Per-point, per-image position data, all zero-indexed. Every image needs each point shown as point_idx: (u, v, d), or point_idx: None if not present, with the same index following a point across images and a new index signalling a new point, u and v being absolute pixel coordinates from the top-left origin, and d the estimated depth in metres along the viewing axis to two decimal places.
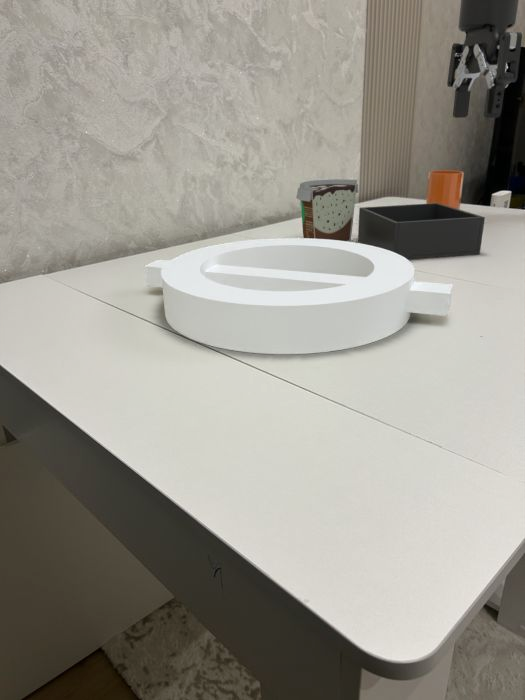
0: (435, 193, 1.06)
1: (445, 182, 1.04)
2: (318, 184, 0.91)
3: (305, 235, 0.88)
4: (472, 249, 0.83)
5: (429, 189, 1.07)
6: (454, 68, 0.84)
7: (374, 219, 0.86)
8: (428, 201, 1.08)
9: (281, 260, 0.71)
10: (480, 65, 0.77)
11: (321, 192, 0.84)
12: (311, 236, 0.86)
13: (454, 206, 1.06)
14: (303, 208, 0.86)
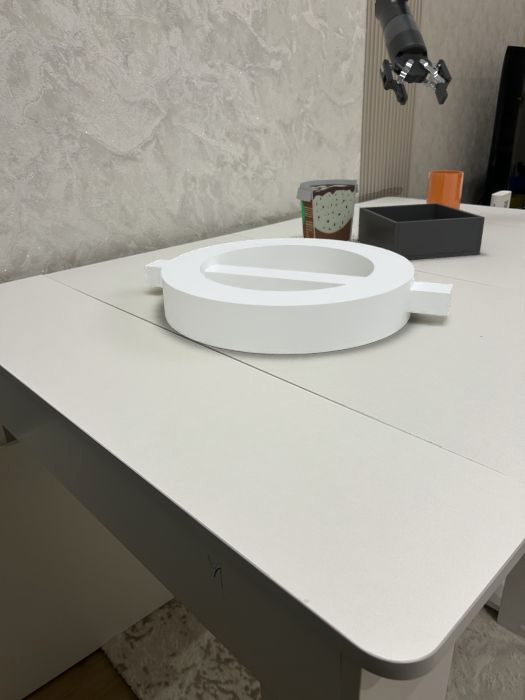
0: (435, 193, 1.06)
1: (445, 182, 1.04)
2: (318, 184, 0.91)
3: (305, 235, 0.88)
4: (472, 249, 0.83)
5: (429, 189, 1.07)
6: None
7: (374, 219, 0.86)
8: (428, 201, 1.08)
9: (281, 260, 0.71)
10: None
11: (321, 192, 0.84)
12: (311, 236, 0.86)
13: (454, 206, 1.06)
14: (303, 208, 0.86)
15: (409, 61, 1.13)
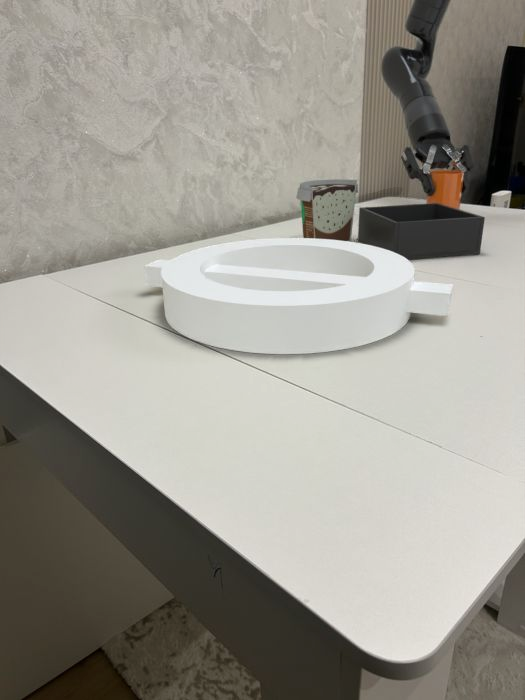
0: (435, 193, 1.06)
1: (445, 182, 1.04)
2: (318, 184, 0.91)
3: (305, 235, 0.88)
4: (472, 249, 0.83)
5: None
6: None
7: (374, 219, 0.86)
8: (428, 201, 1.08)
9: (281, 260, 0.71)
10: None
11: (321, 192, 0.84)
12: (311, 236, 0.86)
13: (454, 206, 1.06)
14: (303, 208, 0.86)
15: (432, 147, 1.08)
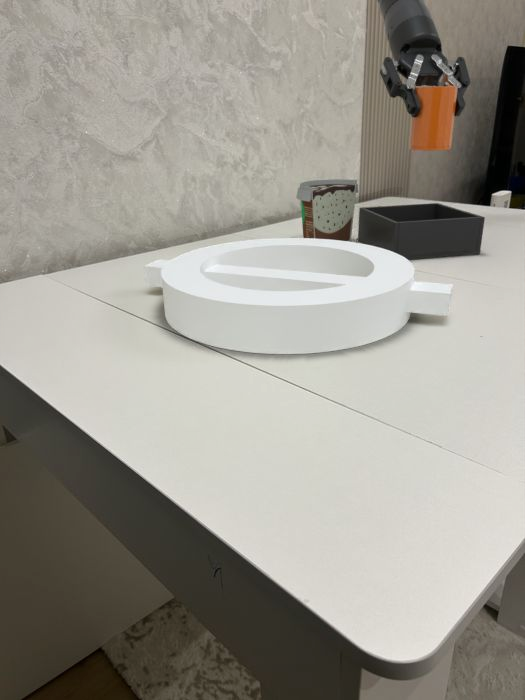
0: (421, 113, 0.84)
1: (434, 98, 0.82)
2: (318, 184, 0.91)
3: (305, 235, 0.88)
4: (472, 249, 0.83)
5: None
6: None
7: (374, 219, 0.86)
8: (413, 125, 0.86)
9: (281, 260, 0.71)
10: None
11: (321, 192, 0.84)
12: (311, 236, 0.86)
13: (445, 130, 0.84)
14: (303, 208, 0.86)
15: (418, 57, 0.86)
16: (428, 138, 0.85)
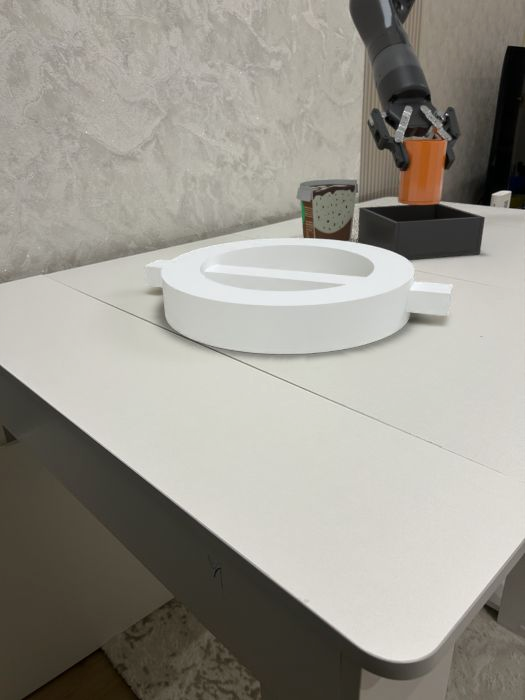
0: (410, 168, 0.81)
1: (422, 153, 0.80)
2: (318, 184, 0.91)
3: (305, 235, 0.88)
4: (472, 249, 0.83)
5: None
6: None
7: (374, 219, 0.86)
8: (401, 179, 0.83)
9: (281, 260, 0.71)
10: None
11: (321, 192, 0.84)
12: (311, 236, 0.86)
13: (435, 185, 0.82)
14: (303, 208, 0.86)
15: (406, 108, 0.83)
16: (417, 193, 0.82)
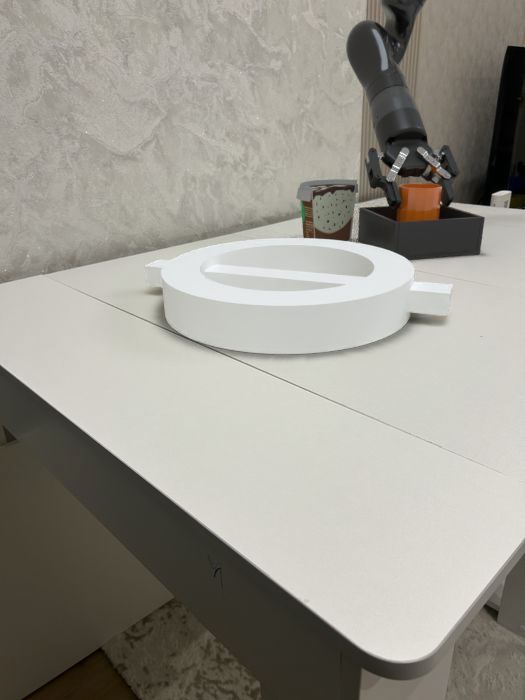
0: (406, 212, 0.84)
1: (418, 199, 0.82)
2: (318, 184, 0.91)
3: (305, 235, 0.88)
4: (472, 249, 0.83)
5: (399, 207, 0.85)
6: None
7: (374, 219, 0.86)
8: None
9: (281, 260, 0.71)
10: None
11: (321, 192, 0.84)
12: (311, 236, 0.86)
13: None
14: (303, 208, 0.86)
15: (403, 150, 0.85)
16: None
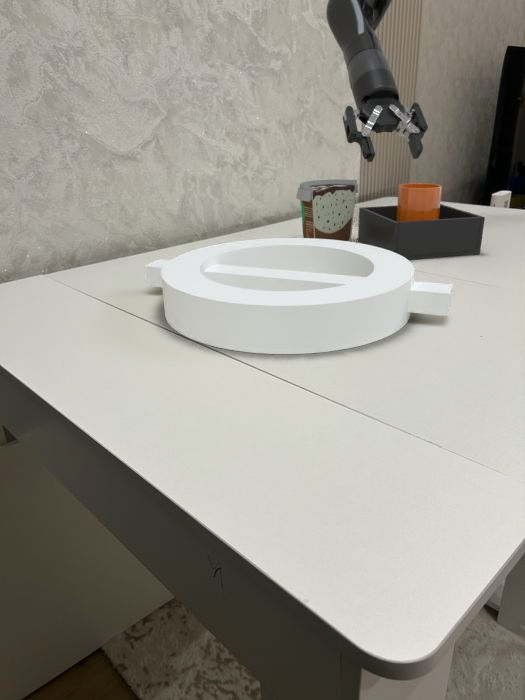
0: (406, 212, 0.84)
1: (418, 199, 0.82)
2: (318, 184, 0.91)
3: (305, 235, 0.88)
4: (472, 249, 0.83)
5: (399, 207, 0.85)
6: None
7: (374, 219, 0.86)
8: None
9: (281, 260, 0.71)
10: None
11: (321, 192, 0.84)
12: (311, 236, 0.86)
13: None
14: (303, 208, 0.86)
15: (377, 108, 0.95)
16: None
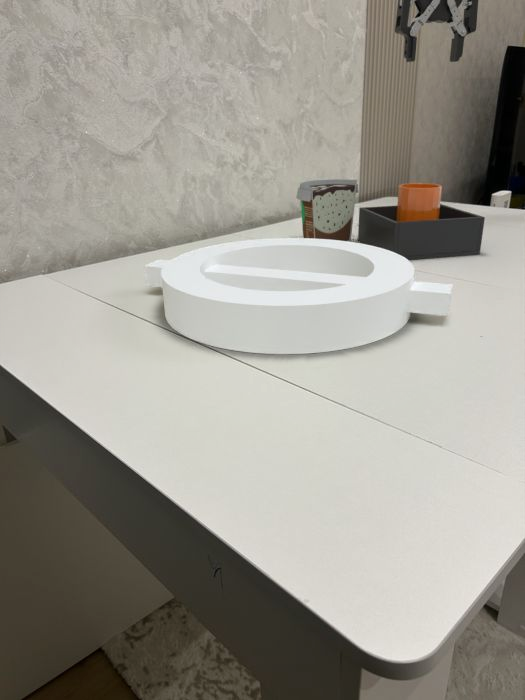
0: (406, 212, 0.84)
1: (418, 199, 0.82)
2: (318, 184, 0.91)
3: (305, 235, 0.88)
4: (472, 249, 0.83)
5: (399, 207, 0.85)
6: (464, 17, 0.97)
7: (374, 219, 0.86)
8: None
9: (281, 260, 0.71)
10: None
11: (321, 192, 0.84)
12: (311, 236, 0.86)
13: None
14: (303, 208, 0.86)
15: (434, 1, 0.92)
16: None
